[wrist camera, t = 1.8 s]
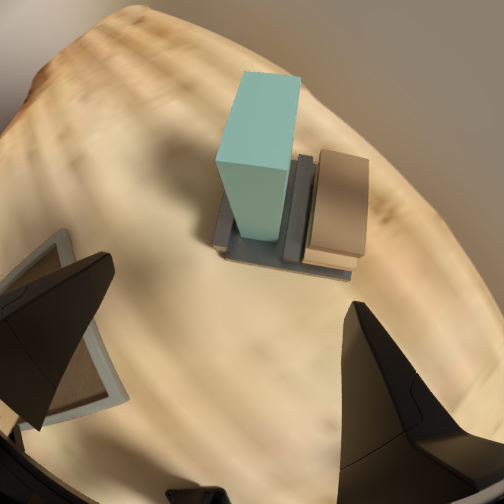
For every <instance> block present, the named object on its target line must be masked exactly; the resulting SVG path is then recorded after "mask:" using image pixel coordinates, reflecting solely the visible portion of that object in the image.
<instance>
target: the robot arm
mask: <svg viewBox="0 0 504 504" xmlns="http://www.w3.org/2000/svg"><path fill="white" fill-rule="evenodd" d="M114 274H115V269H114V264H113V260H112V256H111V254H110V253H107V252H103V251H102V252H98V253H96V254H94V255H91V256H89V257H86V258H84V259H82V260H79V261H77V262H74V263H72V264H70V265H68V266H65V267H63V268H61V269H58V270H56V271H54V272H52V273H49V274H47V275H45V276H43V277H41V278H38V279H36V280H34V281H32V282H30V283H28V284H25V285H23V286H21V287H19V288H17V289H15V290H12V291H10V292H8V293H5V294H3V295H1V296H0V504H99V503H98V502H96V501H94V500H92V499H90V498H89V497H87V496H85V495H84V494H82V493H80V492H79V491H77V490H75V489H74V488H72V487H71V486H69V485H68V484H66V483H65V482H63V481H62V480H60V479H59V478H57V477H56V476H54V475H53V474H52V473H50V472H49V471H48V470H46V469H45V468H44V467H42V466H41V465H40V464H38V463H37V462H36V461H35V460H33V459H32V458H31V457H30V456H29V455H27V454H26V453H25V452H24V451H25V449H24V445H23V441H22V436H21V431H20V426H19V425H18V424H17V423H16V422H17V420H18V418H19V416H20V417H21V418H22V419H23V420H25V421H26V422H27V423H28V424H30V425H31V426H32V427H34V428H35V429H36V430H38V431H40V430H41V428H42V425H43V422H44V420H45V417H46V415H47V412H48V410H49V407H50V405H51V402H52V400H53V398H54V395H55V393H56V391H57V390H56V389H57V388H58V386H59V384H60V382H61V379H62V377H63V375H64V373H65V371H66V369H67V367H68V365H69V363H70V360H71V358H72V356H73V354H74V352H75V351H76V349H77V347H78V345H79V343H80V341H81V339H82V337H83V335H84V333H85V332H86V330H87V328H88V326H89V324H90V322H91V321H92V319H93V317H94V315H95V314H96V312H97V310H98V308H99V306H100V304H101V302H102V300H103V298H104V296H105V294H106V292H107V290H108V288H109V285H110V283H111V281H112V279H113V277H114ZM341 377H342V435H341V459H340V470H341V471H340V473H339V486H338V496H337V504H504V444H502V443H499V442H495V441H491V440H488V439H484V438H481V437H477V436H474V435H471V434H469V433H467V432H466V431H464V430H463V429H462V428H461V427H460V426H459V425H458V424H457V423H456V422H455V421H454V419H453V418H452V417H451V416H450V414H449V413H448V412H447V411H446V409H445V408H444V407H443V406H442V405H441V403H440V402H439V401H438V400H437V398H436V397H435V396H434V395H433V393H432V392H431V391H430V389H429V388H428V387H427V385H426V384H425V383H424V381H423V380H422V379H421V377H420V376H419V374H418V373H416V370H415V369H414V367H413V366H412V365H411V363H410V362H409V360H408V359H407V358H406V356H405V355H404V354H403V352H402V351H401V350H400V348H399V347H398V346H397V344H396V343H395V342H394V340H393V339H392V338H391V336H390V335H389V334H388V332H387V331H386V330H385V328H384V327H383V326H382V324H381V323H380V322H379V321H378V319H377V318H376V317H375V315H374V314H373V313H372V312H371V310H370V309H369V308H368V307H367V305H366V304H365V303H364V302H359V301H353V302H352V303H351V305H350V307H349V309H348V312H347V314H346V316H345V319H344V324H343V342H342V355H341ZM169 493H170V494H169ZM220 493H223V494H220ZM171 494H172V495H171ZM165 495H166V496H167V498H168V500H169V502H170V504H231V502H230V499H229V497H228V495H227V493H226V491H225V490H223V489H212V490H167V491H166V492H165Z"/></svg>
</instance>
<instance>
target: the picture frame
mask: <svg viewBox="0 0 504 504" xmlns="http://www.w3.org/2000/svg"><path fill="white" fill-rule="evenodd" d="M74 262H76V260H75V256H74V252H73V248H72V244H71V239H70V235H69V231H68V230H66V229H60V230H59V231H58V232H56V233H55V234H54V235H53V236H51V237H50V238H49V239H48V240H47V241H45V242H44V243H43V244H42V245H41V246H39V247H38V248H37V249H36V250H35V251H34V252H32V253H31V254H30V255H29V256H28V257H27V258H26V259H24V260H23V261H22V262H21V263H20V264H19V265H18V266H17V267H16V268H15V269H14V270H13V271H12V272H10V273H9V274H8V275H7V276H6V277H5V278H4V279H3V280H2V281H1V282H0V296H1V295H3V294H5V293H8V292H10V291H12V290H15V289H17V288H19V287H21V286H23V285H25V284H28V283H30V282H32V281H34V280H36V279H38V278H41V277H43V276H45V275H47V274H49V273H52V272H54V271H56V270H58V269H61V268H63V267H65V266H68V265H70V264H72V263H74ZM56 390H57V391H56V393H55V395H54V398H53V400H52V402H51V405H50V407H49V410H48V412H47V415H46V417H45V420H44V422H43V425H42V427H43V426H48V425H52V424H56V423H60V422H64V421H67V420H71V419H75V418H78V417H82V416H85V415H88V414H92V413H95V412H98V411H101V410H105V409H108V408H111V407H114V406H117V405H120V404H122V403H125V402H127V401H129V400H130V398H129V396H128V394H127V392H126V390H125V388H124V386H123V384H122V382H121V380H120V378H119V376H118V374H117V372H116V370H115V368H114V366H113V363H112V361H111V359H110V357H109V355H108V352H107V350H106V348H105V345H104V343H103V340H102V338H101V336H100V333H99V331H98V328H97V325H96V323H95V320H94V317H93V319H92V321H91V322H90V324H89V326H88V328H87V330H86V332H85V333H84V335H83V337H82V339H81V341H80V343H79V345H78V347H77V349H76V351H75V352H74V354H73V356H72V358H71V360H70V363H69V365H68V367H67V369H66V371H65V373H64V375H63V377H62V379H61V382H60V384H59V386H58V388H57V389H56ZM16 423H17V424H18V425H19V426H20V431H25V430H30V429H34V427H32V426H31V425H30V424H28V423H27V422H26V421H25V420H23V419H22V418H21V417H20V416H19V418H18V420H17V422H16Z"/></svg>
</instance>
